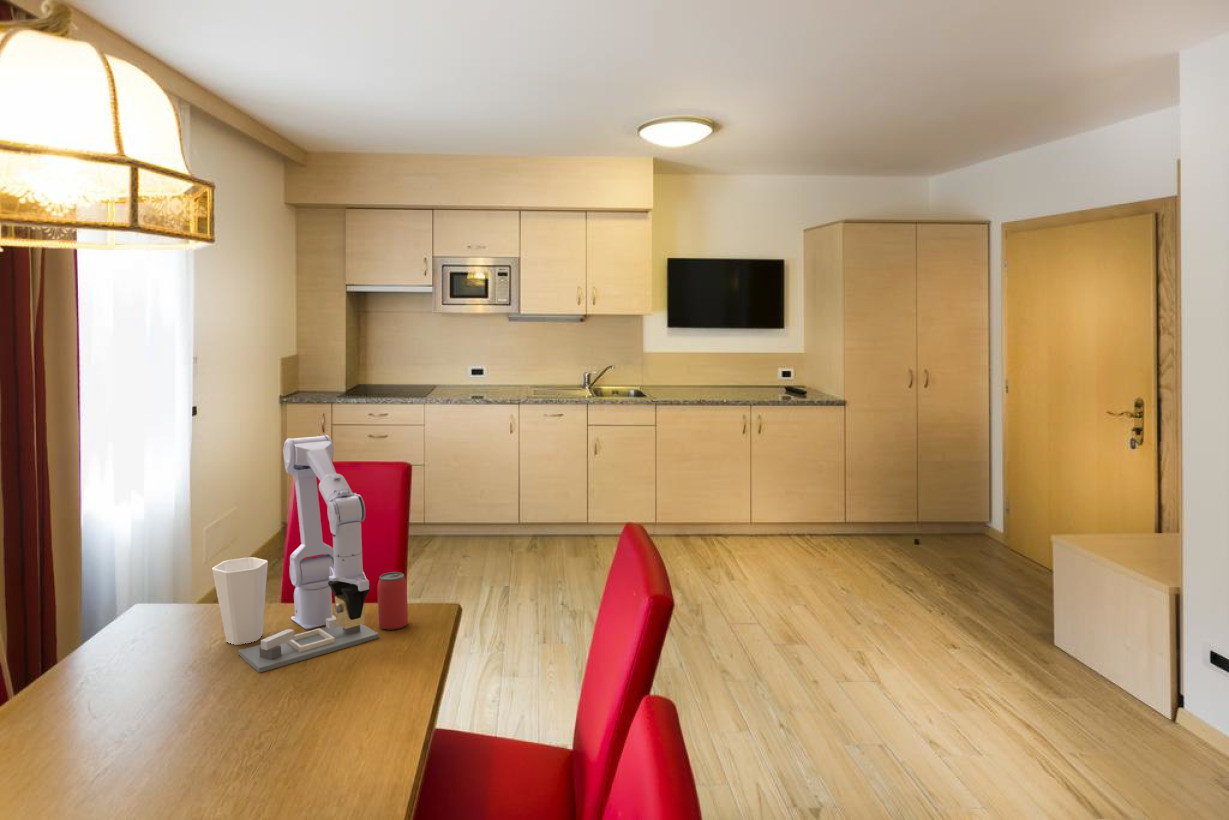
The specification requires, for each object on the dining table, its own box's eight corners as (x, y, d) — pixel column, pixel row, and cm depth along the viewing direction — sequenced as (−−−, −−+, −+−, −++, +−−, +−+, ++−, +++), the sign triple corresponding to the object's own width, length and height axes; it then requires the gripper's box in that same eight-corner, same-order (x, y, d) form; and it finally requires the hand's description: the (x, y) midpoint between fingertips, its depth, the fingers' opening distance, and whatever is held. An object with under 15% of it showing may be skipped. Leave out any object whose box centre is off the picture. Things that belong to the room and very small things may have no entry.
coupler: (333, 624, 170) (332, 596, 170) (358, 617, 174) (357, 590, 173) (342, 629, 167) (341, 602, 166) (367, 622, 171) (366, 595, 170)
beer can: (414, 623, 188) (412, 574, 186) (392, 633, 182) (390, 581, 181) (394, 618, 191) (392, 569, 190) (372, 627, 186) (370, 577, 184)
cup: (255, 648, 174) (250, 572, 172) (208, 648, 174) (204, 572, 172) (277, 629, 185) (274, 557, 183) (234, 629, 185) (230, 557, 183)
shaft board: (238, 655, 170) (237, 632, 170) (354, 623, 188) (353, 603, 187) (259, 672, 162) (257, 649, 161) (378, 638, 179) (378, 616, 179)
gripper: (314, 549, 171) (317, 610, 173) (344, 564, 161) (347, 629, 162) (346, 543, 176) (348, 603, 178) (377, 557, 166) (379, 620, 167)
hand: (350, 615), depth 170 cm, fingers closed on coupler, 4 cm apart
